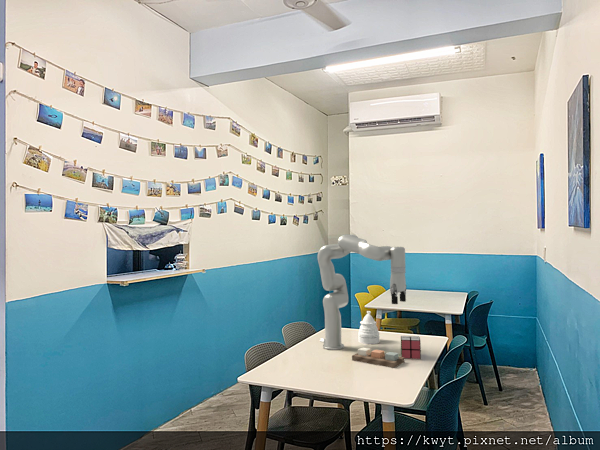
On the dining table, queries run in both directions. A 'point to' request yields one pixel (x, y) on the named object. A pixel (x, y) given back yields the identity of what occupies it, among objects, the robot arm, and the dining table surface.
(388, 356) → the button sage
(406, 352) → the puzzle cube
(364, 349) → the button cream
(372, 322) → the honey pot
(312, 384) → the dining table surface
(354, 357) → the key panel
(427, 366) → the dining table surface
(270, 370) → the dining table surface
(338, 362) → the dining table surface
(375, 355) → the button terracotta
